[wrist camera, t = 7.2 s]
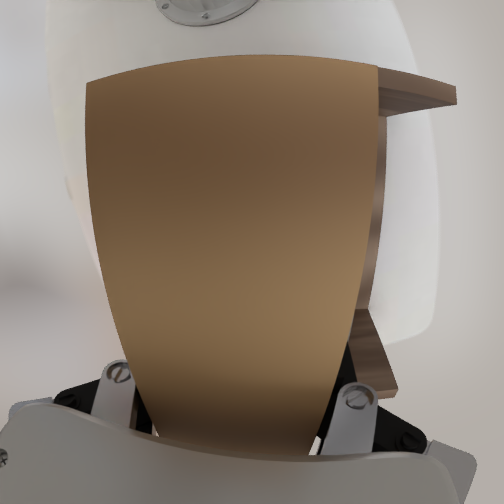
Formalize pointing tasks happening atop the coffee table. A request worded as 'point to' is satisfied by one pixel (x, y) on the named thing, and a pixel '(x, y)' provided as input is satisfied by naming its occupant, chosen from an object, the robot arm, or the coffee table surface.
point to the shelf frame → (362, 328)
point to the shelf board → (234, 237)
